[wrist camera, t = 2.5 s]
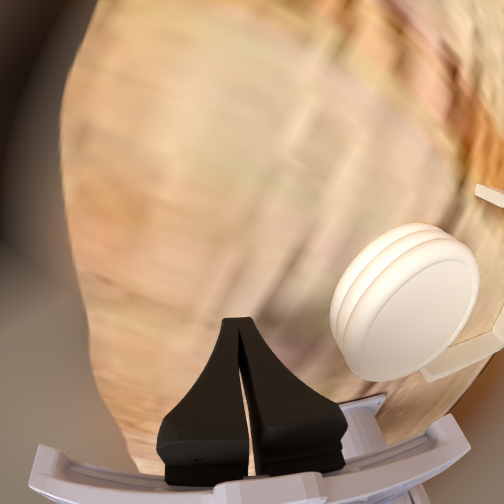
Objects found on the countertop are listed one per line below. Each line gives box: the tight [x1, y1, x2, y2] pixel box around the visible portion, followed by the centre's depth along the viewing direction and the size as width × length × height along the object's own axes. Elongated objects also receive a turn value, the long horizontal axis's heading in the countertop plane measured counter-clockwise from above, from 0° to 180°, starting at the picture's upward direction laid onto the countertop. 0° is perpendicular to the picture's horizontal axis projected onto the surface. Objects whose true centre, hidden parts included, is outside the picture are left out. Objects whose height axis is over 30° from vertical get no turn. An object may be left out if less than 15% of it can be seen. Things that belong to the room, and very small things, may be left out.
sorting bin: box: [420, 183, 504, 383], centre depth 16 cm, size 16×13×2 cm
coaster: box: [330, 223, 480, 382], centre depth 15 cm, size 10×10×4 cm
